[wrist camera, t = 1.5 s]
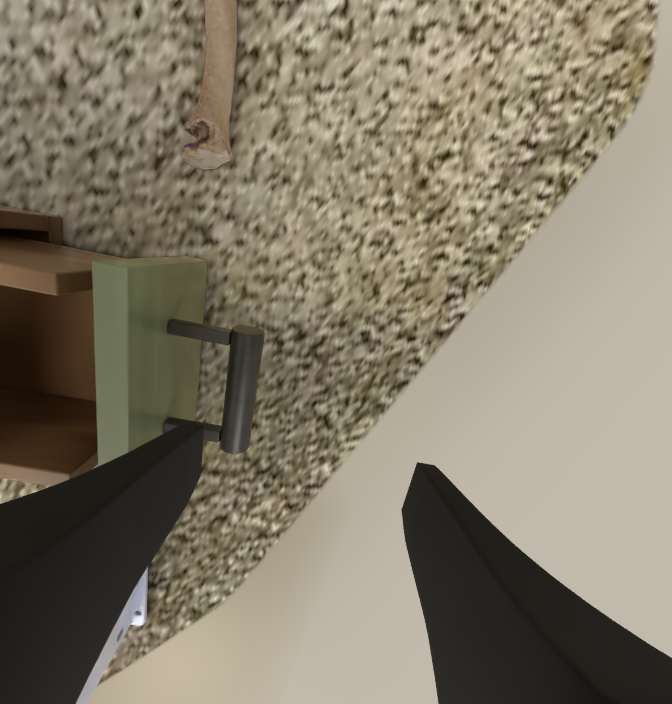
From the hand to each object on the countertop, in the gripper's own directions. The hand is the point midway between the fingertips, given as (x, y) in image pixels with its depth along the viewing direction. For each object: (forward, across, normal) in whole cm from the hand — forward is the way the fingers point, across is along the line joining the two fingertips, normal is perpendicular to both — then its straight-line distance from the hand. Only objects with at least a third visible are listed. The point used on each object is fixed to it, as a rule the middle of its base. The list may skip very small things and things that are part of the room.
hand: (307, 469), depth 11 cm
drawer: (+9, +11, 0) cm, 14 cm away
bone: (+10, +8, -15) cm, 20 cm away
